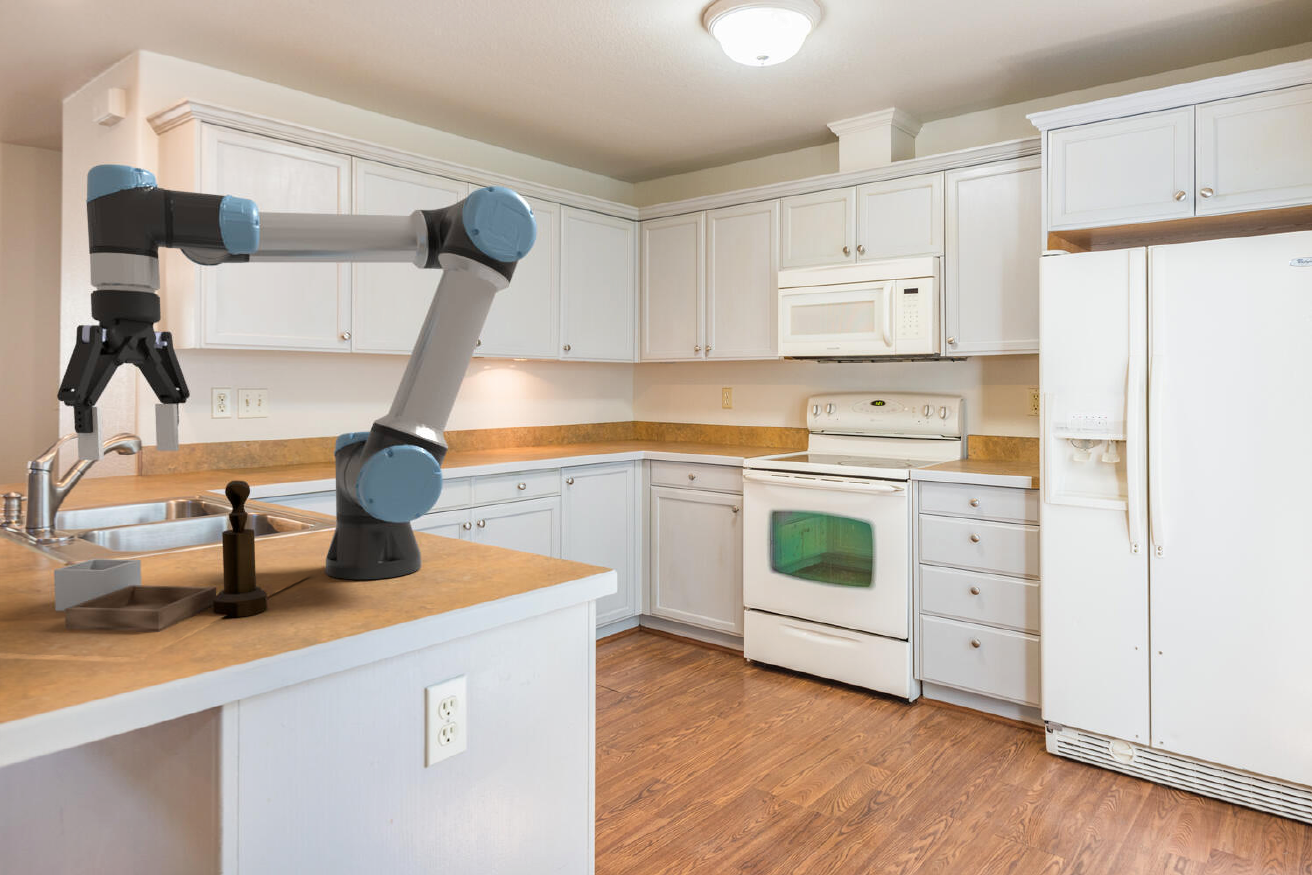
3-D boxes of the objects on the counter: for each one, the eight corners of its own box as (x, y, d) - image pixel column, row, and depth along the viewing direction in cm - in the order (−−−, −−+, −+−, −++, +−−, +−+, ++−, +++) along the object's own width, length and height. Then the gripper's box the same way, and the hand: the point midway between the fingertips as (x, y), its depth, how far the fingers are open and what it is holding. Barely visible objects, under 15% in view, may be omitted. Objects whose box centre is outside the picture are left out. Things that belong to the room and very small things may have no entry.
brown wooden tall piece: (226, 605, 115) (223, 477, 113) (274, 604, 115) (271, 477, 114) (204, 618, 108) (201, 483, 107) (255, 618, 108) (252, 483, 107)
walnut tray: (216, 608, 113) (216, 587, 113) (159, 635, 101) (158, 611, 101) (133, 606, 113) (132, 585, 113) (65, 632, 101) (65, 608, 101)
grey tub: (141, 601, 116) (140, 559, 116) (105, 615, 109) (104, 571, 109) (94, 600, 116) (93, 558, 116) (55, 614, 109) (54, 569, 109)
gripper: (165, 300, 118) (170, 447, 120) (14, 279, 93) (22, 463, 95) (214, 300, 117) (218, 447, 119) (75, 278, 93) (83, 464, 94)
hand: (131, 455), depth 107 cm, fingers open, 13 cm apart
